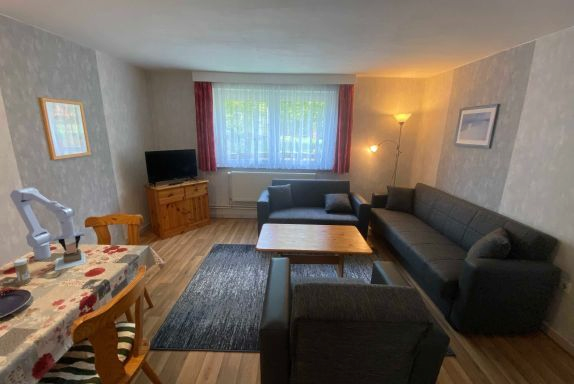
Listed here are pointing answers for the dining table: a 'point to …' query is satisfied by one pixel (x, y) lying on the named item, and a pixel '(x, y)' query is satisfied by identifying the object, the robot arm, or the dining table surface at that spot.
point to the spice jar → (22, 271)
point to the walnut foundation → (72, 256)
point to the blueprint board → (61, 265)
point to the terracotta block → (71, 247)
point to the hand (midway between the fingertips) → (71, 249)
